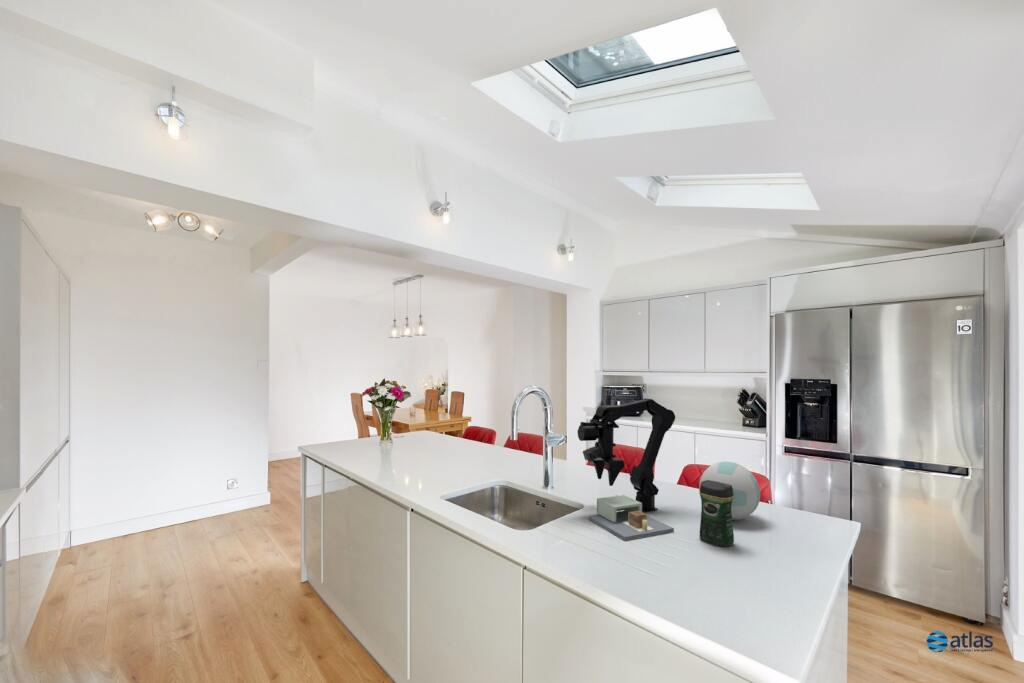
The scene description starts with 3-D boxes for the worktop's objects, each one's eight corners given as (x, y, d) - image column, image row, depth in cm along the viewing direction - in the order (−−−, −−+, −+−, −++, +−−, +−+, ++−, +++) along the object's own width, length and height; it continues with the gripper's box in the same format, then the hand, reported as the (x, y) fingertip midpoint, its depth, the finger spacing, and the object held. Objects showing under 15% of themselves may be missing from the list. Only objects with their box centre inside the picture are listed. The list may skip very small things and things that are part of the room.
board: (634, 512, 169) (634, 501, 169) (673, 531, 150) (673, 519, 150) (588, 519, 160) (588, 507, 160) (624, 540, 142) (624, 527, 142)
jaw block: (638, 522, 154) (638, 510, 154) (646, 526, 151) (646, 514, 151) (629, 524, 153) (629, 512, 153) (636, 528, 149) (637, 516, 149)
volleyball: (754, 532, 151) (754, 472, 152) (692, 519, 163) (692, 462, 164) (764, 516, 167) (764, 461, 167) (706, 505, 179) (707, 454, 180)
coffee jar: (737, 543, 142) (737, 483, 143) (725, 549, 137) (726, 487, 137) (707, 533, 149) (708, 476, 150) (695, 539, 144) (695, 480, 145)
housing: (617, 505, 172) (617, 491, 172) (641, 517, 159) (642, 503, 159) (590, 509, 167) (590, 495, 167) (613, 522, 154) (613, 507, 154)
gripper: (575, 436, 176) (574, 476, 175) (597, 445, 158) (596, 490, 157) (601, 435, 179) (601, 475, 178) (625, 444, 161) (625, 489, 160)
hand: (605, 482), depth 169 cm, fingers open, 9 cm apart
